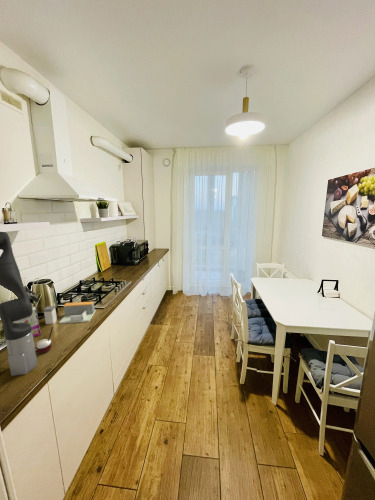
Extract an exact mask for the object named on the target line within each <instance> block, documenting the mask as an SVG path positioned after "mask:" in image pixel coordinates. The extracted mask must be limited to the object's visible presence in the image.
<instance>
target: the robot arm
mask: <svg viewBox="0 0 375 500" xmlns="http://www.w3.org/2000/svg"><path fill="white" fill-rule="evenodd" d="M0 250H2V252H1V255H0V285H1V286H3V287H4V288H6V289H8V290H10V291H12V292H13V293H14V294H15V295H16V296H17V297H18V299H14V300H11V299H10V300H7V301H3V302H1V303H0V322H1V324H2V329H3V334H4V339H5V344H6V348H7V354H8V356H7V361H8V367H9V369H10V375H11V376H12V377H13V376H23V375H28V373H30V372H32V371H33V369H35V368H36V367H37V365H38V363H39V362H38V357H37V352H36V351H37V350H36V348H35V347H36V345H35V340H34V337H33V334H32V328H31V325H30V324H28V323H13V322H14V321H18V320H21V319H24V318H27V317H29V316H31V315H32V313H33V309H32V307H33V305H32V302H31V300H32V301H34V302H35V303H38V302H39V301H40V298H38V297H36V293H35V292H34V291H32V290H31V289H29V288H26V289H25V286H24V284H23V279H22V276H21V271H20V269H19V266H18V264H17V261H16V258H15V256H14V252H13V248H12V243H11V238H10V235H9V234H8V233H7V232H5V231H0ZM30 299H31V300H30ZM35 350H36V351H35Z"/></svg>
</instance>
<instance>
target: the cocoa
mask: <svg viewBox="0 0 375 500" xmlns="http://www.w3.org/2000/svg"><path fill="white" fill-rule="evenodd" d="M53 330H54V326H52V327H51V328H50V333H49V336H48V339H47V338H43V339H41V340H39V341H37V342H36V346H35V351H36V353H40V354H45V353H47V352H49V351H50V350H51V348H52V339H51V336H52V332H53Z"/></svg>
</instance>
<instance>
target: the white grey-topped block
mask: <svg viewBox="0 0 375 500" xmlns="http://www.w3.org/2000/svg"><path fill="white" fill-rule="evenodd" d="M43 315H44V320H45V325H52V324H55V323H56V322H57V320H58V317H57V312H56V306H55V305H47V306H46V307H45V308H44V309H43Z"/></svg>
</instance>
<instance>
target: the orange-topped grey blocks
mask: <svg viewBox="0 0 375 500" xmlns="http://www.w3.org/2000/svg"><path fill="white" fill-rule="evenodd" d="M63 312H64V316H63V317H62V318H61V319H60V321H59V322H58V323H59V324H60V325H61V324H76V323H77V324H78V323H87V322H90V321H91V319H92V317H93V316H94V314H95V313H96V312H97V311H96V309H95V301H81V302H80V301H79V302H66V303H64V305H63Z"/></svg>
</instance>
